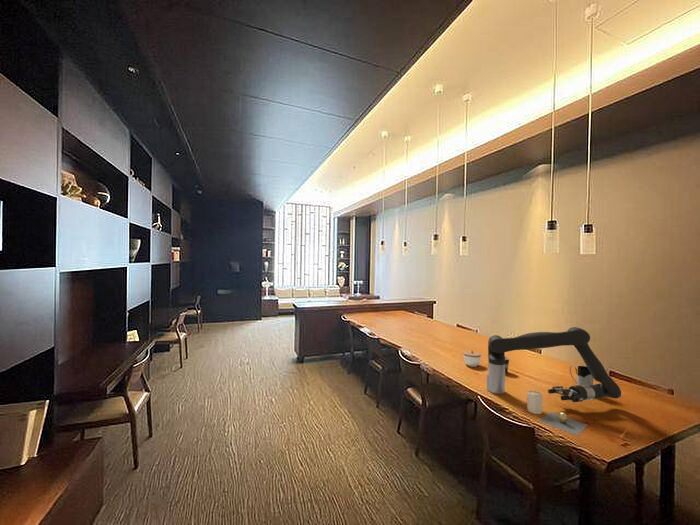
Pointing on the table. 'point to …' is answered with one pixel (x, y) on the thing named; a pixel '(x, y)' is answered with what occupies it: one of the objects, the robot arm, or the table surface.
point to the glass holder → (583, 376)
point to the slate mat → (570, 424)
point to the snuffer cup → (534, 402)
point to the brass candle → (563, 418)
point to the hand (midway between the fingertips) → (554, 394)
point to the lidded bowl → (472, 358)
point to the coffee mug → (506, 364)
